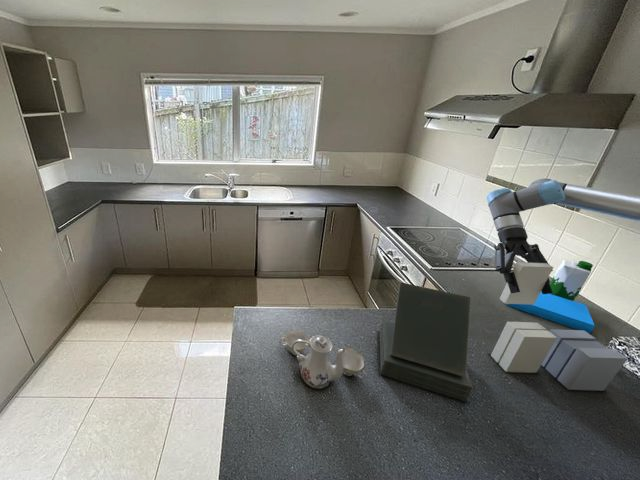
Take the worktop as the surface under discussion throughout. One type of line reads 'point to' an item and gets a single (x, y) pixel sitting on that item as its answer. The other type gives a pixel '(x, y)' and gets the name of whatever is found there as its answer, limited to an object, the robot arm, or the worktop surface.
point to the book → (560, 311)
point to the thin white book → (527, 283)
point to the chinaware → (322, 359)
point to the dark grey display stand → (428, 341)
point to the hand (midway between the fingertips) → (531, 293)
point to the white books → (523, 347)
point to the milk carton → (570, 279)
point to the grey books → (582, 361)
